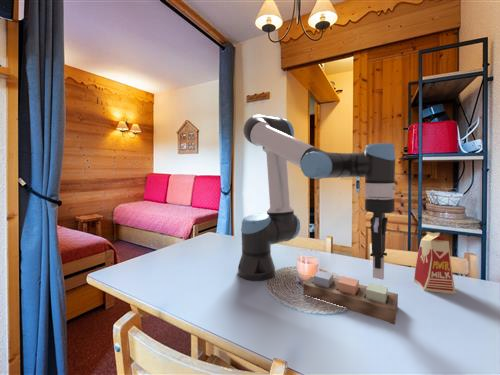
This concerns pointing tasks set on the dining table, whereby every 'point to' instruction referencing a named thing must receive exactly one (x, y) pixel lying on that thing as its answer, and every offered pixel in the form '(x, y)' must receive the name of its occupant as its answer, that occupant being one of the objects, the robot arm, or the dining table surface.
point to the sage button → (377, 293)
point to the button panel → (354, 300)
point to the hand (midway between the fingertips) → (378, 277)
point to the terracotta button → (348, 285)
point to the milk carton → (434, 265)
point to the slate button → (323, 279)
